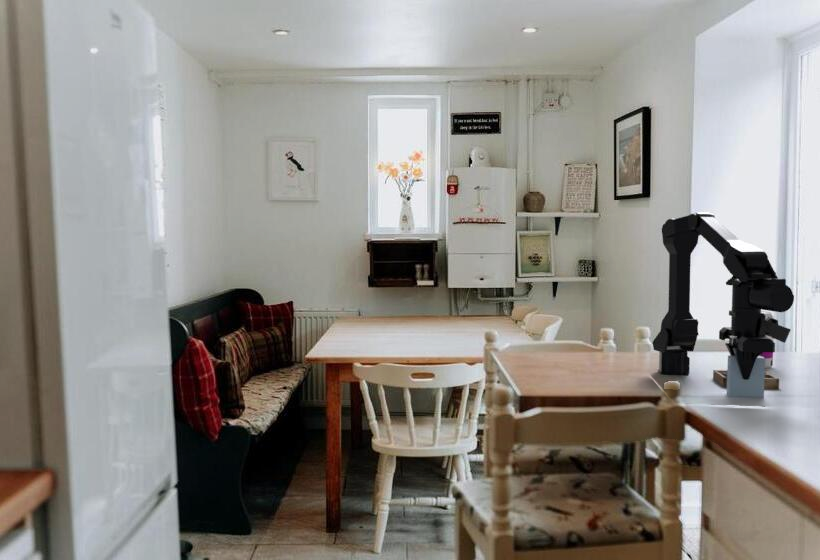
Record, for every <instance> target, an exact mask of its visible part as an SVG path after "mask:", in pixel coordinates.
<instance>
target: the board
mask: <svg viewBox="0 0 820 560" xmlns="http://www.w3.org/2000/svg"><path fill="white" fill-rule="evenodd" d="M765 372H766V368H765V358H764V357H762V356H758V357H757V358H756V361H755V363H754V366H753V369H752V372H751V375H750V377H749V379H748V380H744V379H743V378H742V375H741V372H740V369H739V366H738V363H737V360H736V357H735V356H731V355H727V388H726V395H727V396H728V397H743V398H745V397H746V398H748V397H749V398H764V397H765V390H764V378H765Z"/></svg>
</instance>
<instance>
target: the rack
mask: <svg viewBox="0 0 820 560" xmlns="http://www.w3.org/2000/svg"><path fill="white" fill-rule="evenodd" d="M712 372H713V373H712V378H711V379H712V380H713V381H715V382H716V383H717V384H718V385H720V386H721V387H722V388H724V389H727V370H726V369H725V370H722V369H721V370H719V369H713V371H712ZM765 390H766V391H782V389H780V378H778V377H776V376H775V375H773V374H772V373H770V372H768V371H765V378H764V391H765Z"/></svg>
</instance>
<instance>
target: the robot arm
mask: <svg viewBox="0 0 820 560" xmlns="http://www.w3.org/2000/svg"><path fill="white" fill-rule="evenodd" d="M661 235H662V243H663V246H664V248H665V249H666V251H667V253H668V256H669V258H668V260H669V261H668V264H669V267H668V310H667V312H666V314H665V316H663V319H662V320H661V324H660V331H659V332H658V333H657V335H656V337H655V338H654V339H653V340H652V346H653V347H652V348H653V351H657V352H659V353H658V354H659V356H658V357H659V358H658V364H659V365H658V369H657V371H658V372H659V373H660V375H661V376H662V375H663V376H685V377H686V376H689V374H690V364H691V363H690V362H691V361H690V357H689V356H688V352H694V350H695V346H696V342H697V339H698V336H699V321H698V318H694V317H693V315H692V313H691V311H690V305H691V304H690V303H691V263H692V262H691V259H692V258H691V256H692V253H693V251H694V249H695V248H696V247H697V245H698V243H699V237H700V236H702V237H703V239H705V240H706V242H708V243H709V244H710V245H711V246H712V247H713V248H714V249H715V250H716V251H717V252H718V253H719V254H720V255H721V256H722V262H723V265H724V266H725V268H726V269H727V272H729V273H730V275H732V276H731V278H729V279H728V280H727V281H726V282H725V284H726V286H732V287H731V288H732V289H731V290H732V291H731V310H728V316H730V317H731V318H730V319H731V321H730V322H731V323H730V324H731V325H730V327H729V326H723V327H722V328H721V329H720V330H718V331H719V332H718V339H719V340H721V341H725V340H728V343H727V342H726V343H725V344H724V345H725V346H726V349H727V351H728V353H729V356H735V357H736V360H737V363H738V366H739V369H740V372H741V375H742V378H743V379H744V380H748V379H749V377H750V375H751V372H752V369H753V366H754V363H755V361H756V358H757V357H758V356H759V355H761V354H762V353H765V352H767V353H773V354H774V353H776V343H775V342H774V340H777V341H779V342H781V343H783V344H784V343H786V342H787V339H788V337H789V335H790V333H791V328H789V327H785V326H782V325H779V320H778V319H775V318H774V319H773V318H770V317H768V318H767V319H766V320H765V315H764V313H761V311H767V312H776V313H777V312H778V313H784V312H787V311H789V310H790V309H791V308H792V306H793V305H794V304H793V303H794V301H795V295H794V294H793V291H792V288H791V287H790V286H789V285H787V284H786V283H787V281H786V278H778V276H777V273H776V272H775V270H774V268H773V266H772V264H771V262H770V260H769V256H768V254H767V252H765V251H764V250H762V249H761V248H759V247H757V246H756V245H753V244H750V243H747V242H744V241H742V240H740V239H739V238H738V236H736V235H734V234H733V233H732V232H731V231H730V230H729V229H728V228H727V227H725V226H724V225H723V224H722V223H721V222H720V221H719V220H717V218H716V217H715V215H714V214H713V213H712V212H711V213H710V212H693V213H690V214H688V215H685V216H681V217H677V218H668V219H667V220H666V221H665V223H663V224H662V228H661ZM766 335H767V336H770V337H772V338H774V339H773V341H772V340H771V339H769V338H767V337H766Z"/></svg>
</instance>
